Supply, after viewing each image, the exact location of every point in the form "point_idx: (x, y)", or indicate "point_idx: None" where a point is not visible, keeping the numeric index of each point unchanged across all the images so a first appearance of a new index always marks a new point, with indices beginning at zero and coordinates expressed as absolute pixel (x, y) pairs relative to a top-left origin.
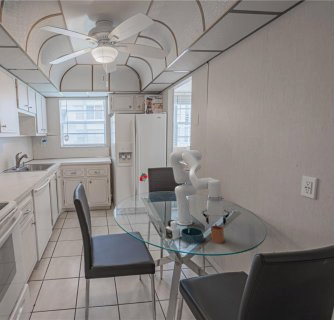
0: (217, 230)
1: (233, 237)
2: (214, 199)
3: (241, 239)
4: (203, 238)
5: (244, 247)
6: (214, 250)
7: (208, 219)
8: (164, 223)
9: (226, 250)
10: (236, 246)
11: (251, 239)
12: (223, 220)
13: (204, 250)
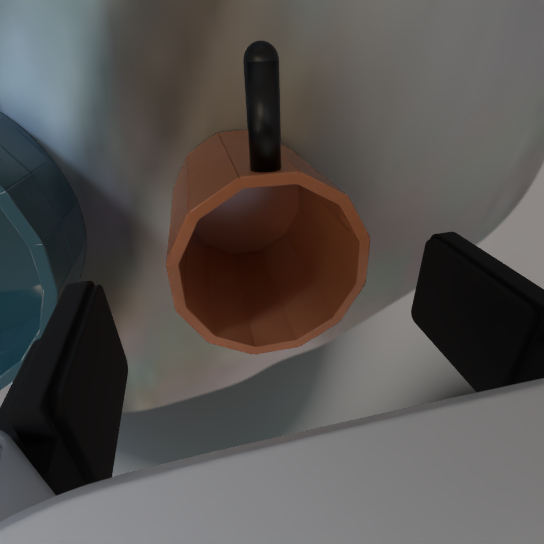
0: (270, 343)
1: (429, 53)
2: None
3: (487, 101)
4: (78, 258)
5: None
6: (208, 377)
7: (108, 471)
8: None
9: (295, 352)
10: (385, 271)
11: None
12: (468, 355)
13: (131, 400)
